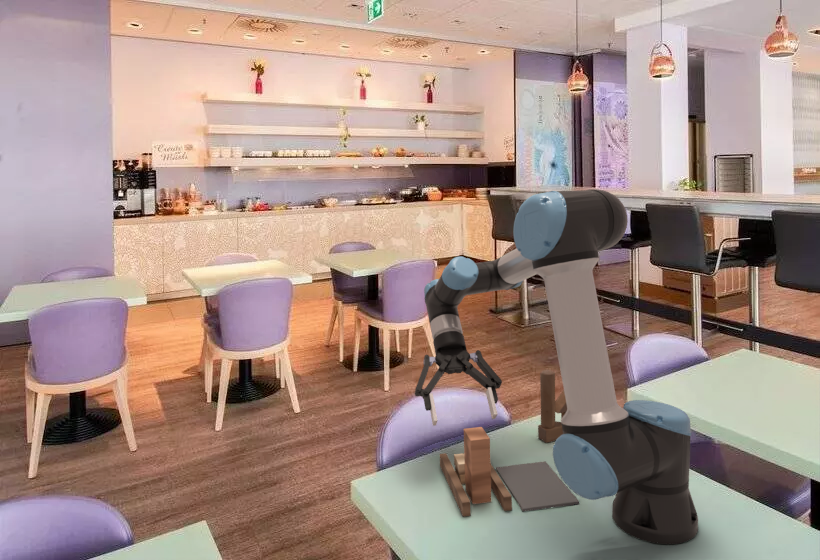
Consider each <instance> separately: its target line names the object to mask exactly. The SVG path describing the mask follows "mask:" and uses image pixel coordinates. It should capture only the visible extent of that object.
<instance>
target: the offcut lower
mask: <svg viewBox="0 0 820 560" xmlns="http://www.w3.org/2000/svg"><path fill="white" fill-rule="evenodd" d="M454 470H455V472H456V474H457V476H458V478H459V480H460V482H461V484H462V485H465V475H459V474H458V471H457V469H456V467H455V466H454Z"/></svg>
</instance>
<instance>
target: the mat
mask: <svg viewBox="0 0 820 560" xmlns="http://www.w3.org/2000/svg"><path fill="white" fill-rule="evenodd" d="M551 467H552V466H550V465H549V464H548V463H547V461H544V460H542V461H538V462H537V461H535V462H530V463H529V462H527V463H518V464H512V465H504V466H496V467H495V471H496V472H497V474H498V476H499V477H500V479H501V480H502V482H503V483H504V485H505V487H506V488H507V490H508V491H509V493H510V494H511V496H512V497H513V499H514V500H515V501H516V504H517V505H518V507H519V508H520V510H521V511H522V512H530V511H537V510H538V511H539V510H545V508H546V509H552V508H551V507H553V508H560V507H567V506H573V505H574V504H575V505H579V504H580V500H579V499H578V498H577V496H575V494H574V493H573V491H572V490H571V489H570V488H569V486H568V485H567V484H566V483H565V482H564V481H563V479H562V478H561V477H559V476H558V473H557V474H556V472H555V471H554V470H553V468H551ZM566 485H567V486H566ZM575 505H574V506H575Z"/></svg>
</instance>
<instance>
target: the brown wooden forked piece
mask: <svg viewBox="0 0 820 560" xmlns="http://www.w3.org/2000/svg"><path fill="white" fill-rule="evenodd" d="M539 374H540V376H539V377H540V379H539V381H540V382H539V383H540V384H539V385H540V387H539V388H540V389H539V390H540V424H539V425H538V424H537V425H538V426H537V434H538V435H537V437H538V439H539V440H541V441H543V442H544V443H546V444H547V443H551V442H555V440H556V439H557V438H558V437H560V436H561V435H563V430H562V424H561V421H557V420H556V414H560V415H561V417H560V418H561V419H562V417H563V416H564V415H565V413H566V412H567V404H566V398H565V393H564V389H563V390H562V391H561V393H560V394H559V395H558V397H557V399H556V373H555V371H554V370H552V369H542V370H541V371H540V373H539ZM561 419H560V420H561Z"/></svg>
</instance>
